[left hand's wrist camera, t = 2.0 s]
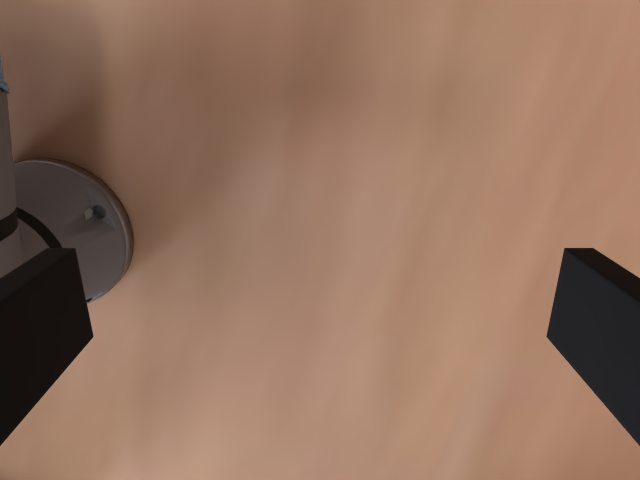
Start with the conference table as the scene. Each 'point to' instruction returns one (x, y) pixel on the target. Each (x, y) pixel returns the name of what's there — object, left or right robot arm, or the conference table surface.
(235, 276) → the conference table surface
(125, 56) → the conference table surface
